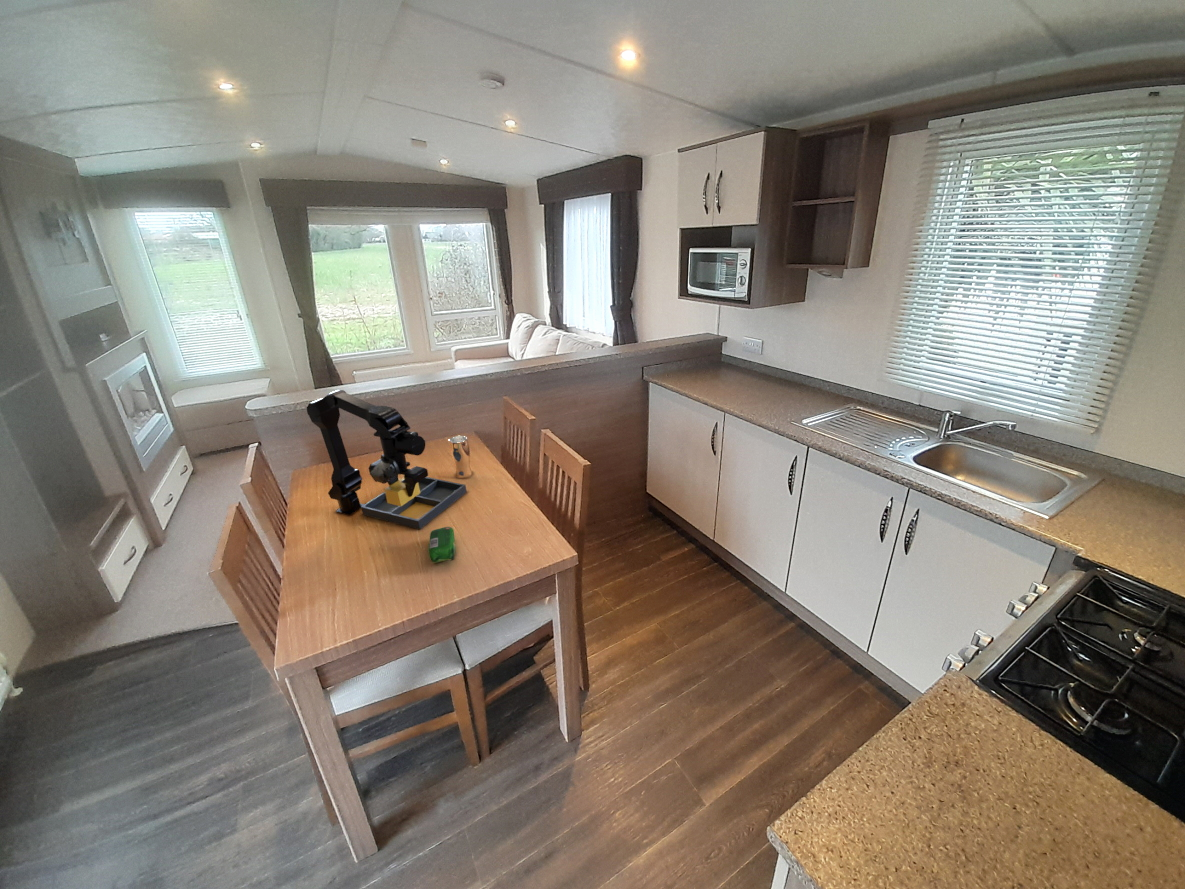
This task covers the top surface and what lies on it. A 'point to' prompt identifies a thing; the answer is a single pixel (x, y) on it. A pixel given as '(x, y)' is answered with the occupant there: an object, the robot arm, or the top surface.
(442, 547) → the snack package
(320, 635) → the top surface
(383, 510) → the tray
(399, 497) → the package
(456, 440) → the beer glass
